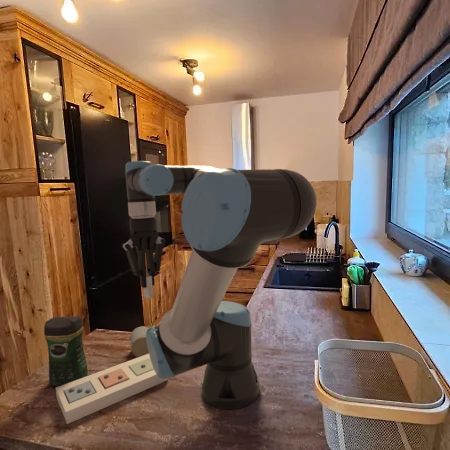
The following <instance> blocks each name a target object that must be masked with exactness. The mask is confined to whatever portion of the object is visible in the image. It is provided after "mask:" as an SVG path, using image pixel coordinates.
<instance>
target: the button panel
mask: <svg viewBox="0 0 450 450" xmlns="http://www.w3.org/2000/svg"><path fill="white" fill-rule="evenodd" d="M146 359H150V355H149V354H146V355H143V356H141V357H135V358H133V359H130V360H128V361H125V362H122V363H119V364H116V365H114V366H112V367H108V368H106V369H103V370H100V371H98V372H95V373H92V374H89V375H87V376H86V377H83V378H81V379H78V380H75V381H73V382H70V383H67V384H64V385H62V386H55V393H56V394H55V395H56V401H57V403H58V405H59V408H60V411H61V412H62V415H63V418H64V420H65V424H66V425H67V424H68V425H69V424H71V423H73V422H75V421H77V420H79V419H82V418H85V417H86V416H89V415H91V414H94V413H95V412H98V411H100V410H102V409H105V408H107V407H109V406H112V405H114V404H116V403H117V404H118V403H119V402H121V401H123V400H126V399H128V398H130V397H132V396H134V395H137V394H139V393H141V392H144V391H146V390H148V389H150V388H153V387H155V386H158V385H160V384H163V383H164V382H166V381H168V380H169V378H166V379H161V378H159V377H158V376H157V374H156V372H155V370H152V371H149V372H147V373H144V374H142V375H139V376H136V375H135V374H134V373H133V372H132V371H131V369H130V368H129V366H130V365H133V364H136V363H138V362H141V361H144V360H146ZM150 360H151V359H150ZM118 369H121V370H122V371H123V372H124V373H125V374H126V376H127V377H128V380H127V381H124V382H122V383H119V384H117V385H114V386H112V387H110V388H107V389H104V387H103V386H102V384H101V383H100V381H99V376H102V375H104V374H107V373H110V372H112V371H115V370H118ZM88 381H89V382H90V384H91V385H92V387H93V388H94V390H95V392H96V393H95V394H92V395H90V396H87V397H85V398H82V399H80V400H77V401H75V402H72V403H70V404H69V403H68V401H67V399H66V397H65V391H64V390H67V389H69V388H72V387H75V386H77V385H80V384H83V383H85V382H88Z"/></svg>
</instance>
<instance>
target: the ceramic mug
mask: <svg viewBox="0 0 450 450" xmlns="http://www.w3.org/2000/svg"><path fill="white" fill-rule="evenodd" d="M148 328H149V327H148V326H146V325H145V326H144V325H143V326H142V325H141V326H139V327H136V328H134V329H133V330H132V331H131V334H130V337H129V340H130V350H131V353H132V354H133V355H134V356H135V358H138V357H141V356H143V355H146V354H149V352H148V347H147V341H146V331H147V329H148Z"/></svg>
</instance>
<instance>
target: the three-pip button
mask: <svg viewBox="0 0 450 450" xmlns="http://www.w3.org/2000/svg"><path fill="white" fill-rule="evenodd" d="M64 391H65V397H66V399H67V401H68V403H69V404H70V403H72V402H75V401H77V400H80V399H82V398H85V397H87V396H90V395H92V394H95V393H96V392H95V390H94V388H93V387H92V385H91V384H90V382H89V381H88V382H85V383H83V384H80V385H77V386H75V387H72V388H69V389H67V390H64Z"/></svg>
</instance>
